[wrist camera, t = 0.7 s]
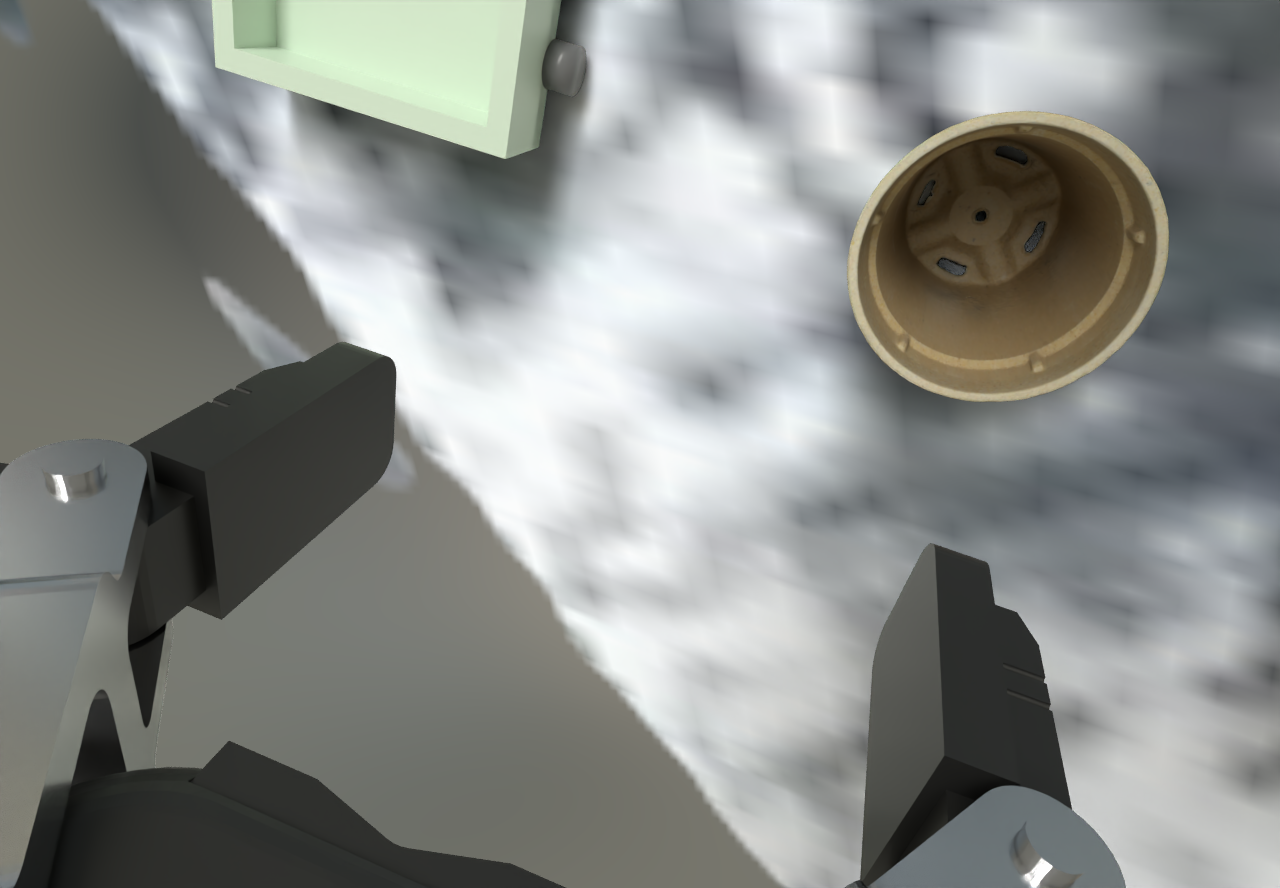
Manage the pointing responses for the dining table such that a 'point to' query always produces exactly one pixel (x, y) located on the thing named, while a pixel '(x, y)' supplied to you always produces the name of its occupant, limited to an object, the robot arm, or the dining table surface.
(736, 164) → the dining table surface
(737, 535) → the dining table surface
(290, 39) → the cart
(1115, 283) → the flower pot
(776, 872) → the dining table surface
